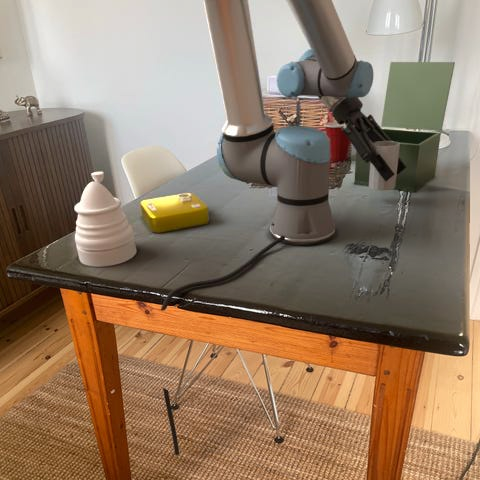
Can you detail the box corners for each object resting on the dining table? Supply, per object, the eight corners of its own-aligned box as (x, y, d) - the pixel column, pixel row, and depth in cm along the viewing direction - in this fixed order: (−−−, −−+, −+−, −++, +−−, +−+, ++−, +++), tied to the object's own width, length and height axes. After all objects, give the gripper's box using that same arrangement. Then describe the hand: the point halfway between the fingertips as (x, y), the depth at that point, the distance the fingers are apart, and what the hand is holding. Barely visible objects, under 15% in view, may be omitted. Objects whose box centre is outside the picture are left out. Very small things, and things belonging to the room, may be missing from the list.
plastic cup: (352, 154, 180) (354, 118, 174) (355, 162, 171) (358, 125, 165) (321, 155, 182) (322, 120, 175) (323, 163, 172) (324, 126, 166)
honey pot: (101, 241, 123) (85, 166, 114) (147, 246, 119) (134, 168, 110) (67, 263, 113) (47, 183, 104) (116, 269, 109) (99, 186, 100)
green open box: (413, 192, 141) (419, 145, 135) (354, 183, 151) (356, 139, 144) (434, 177, 152) (441, 132, 146) (377, 170, 162) (381, 128, 155)
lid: (454, 62, 138) (455, 62, 139) (390, 61, 148) (391, 62, 149) (440, 130, 145) (441, 130, 146) (380, 126, 155) (381, 126, 156)
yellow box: (141, 216, 137) (138, 198, 135) (194, 206, 141) (192, 189, 139) (153, 234, 125) (150, 216, 123) (211, 223, 129) (209, 205, 127)
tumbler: (387, 192, 130) (391, 147, 124) (363, 187, 134) (367, 144, 128) (399, 185, 134) (404, 142, 129) (376, 181, 138) (380, 139, 133)
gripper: (350, 108, 140) (400, 174, 140) (313, 120, 127) (369, 193, 127) (369, 87, 135) (421, 156, 134) (333, 97, 121) (391, 174, 121)
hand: (396, 174), depth 130 cm, fingers closed on tumbler, 7 cm apart
